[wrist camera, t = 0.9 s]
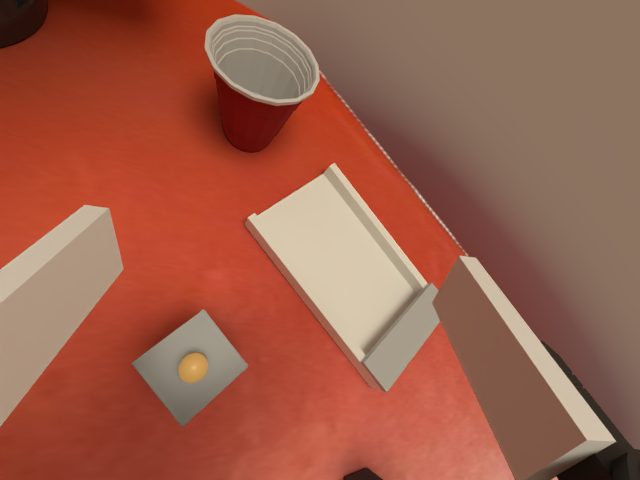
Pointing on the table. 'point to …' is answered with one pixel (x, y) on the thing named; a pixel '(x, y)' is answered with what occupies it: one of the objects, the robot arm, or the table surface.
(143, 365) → the grey bottle with cork
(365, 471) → the calculator
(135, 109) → the table surface
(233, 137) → the plastic cup
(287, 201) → the tray
